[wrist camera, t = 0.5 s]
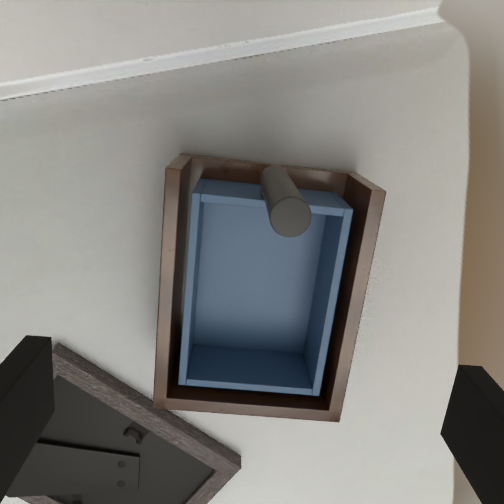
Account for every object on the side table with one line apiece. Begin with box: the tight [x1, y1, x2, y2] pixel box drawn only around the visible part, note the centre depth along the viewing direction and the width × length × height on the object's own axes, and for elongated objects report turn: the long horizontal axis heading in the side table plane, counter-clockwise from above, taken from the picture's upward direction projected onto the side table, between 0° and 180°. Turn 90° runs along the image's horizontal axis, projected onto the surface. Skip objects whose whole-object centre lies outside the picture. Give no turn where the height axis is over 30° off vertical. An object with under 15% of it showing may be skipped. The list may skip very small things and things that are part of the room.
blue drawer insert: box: [178, 165, 353, 396], centre depth 31 cm, size 17×11×15 cm, turn 174°
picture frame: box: [6, 343, 241, 504], centre depth 45 cm, size 16×2×21 cm
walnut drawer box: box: [153, 154, 386, 422], centre depth 36 cm, size 18×14×8 cm
